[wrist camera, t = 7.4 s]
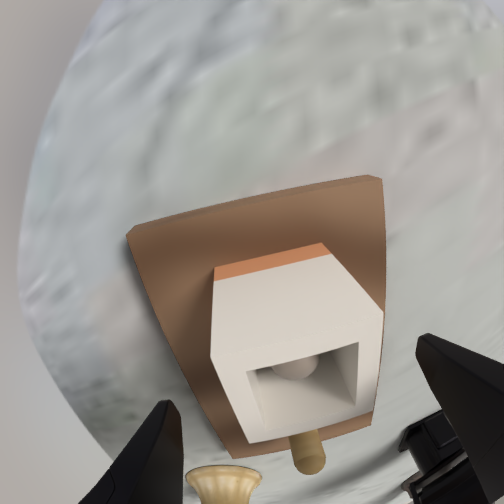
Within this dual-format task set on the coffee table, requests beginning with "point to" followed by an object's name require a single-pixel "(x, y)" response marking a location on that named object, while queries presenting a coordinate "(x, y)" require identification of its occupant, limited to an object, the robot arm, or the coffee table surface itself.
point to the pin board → (248, 247)
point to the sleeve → (294, 341)
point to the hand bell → (224, 484)
